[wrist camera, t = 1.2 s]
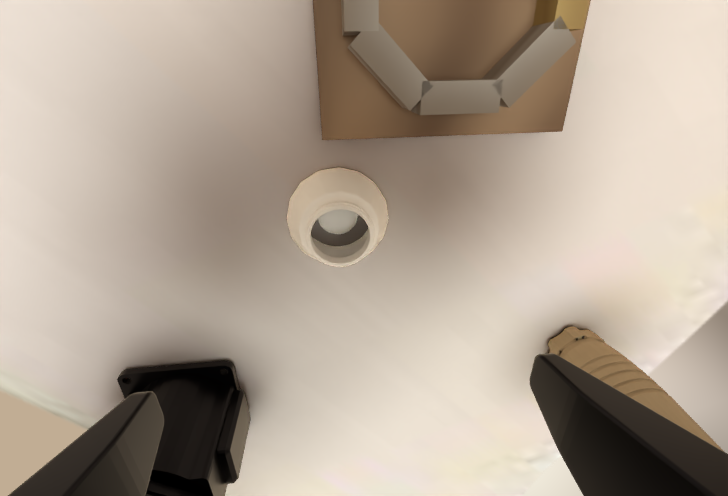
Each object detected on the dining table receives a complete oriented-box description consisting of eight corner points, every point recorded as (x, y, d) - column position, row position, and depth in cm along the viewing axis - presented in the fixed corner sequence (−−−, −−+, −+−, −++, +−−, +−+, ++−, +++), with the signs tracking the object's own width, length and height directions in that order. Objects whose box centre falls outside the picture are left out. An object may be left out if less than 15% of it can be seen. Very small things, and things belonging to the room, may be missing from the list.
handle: (519, 327, 23) (797, 682, 10) (616, 301, 23) (1032, 621, 10) (522, 379, 25) (752, 727, 12) (611, 356, 25) (944, 679, 12)
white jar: (404, 201, 19) (324, 145, 17) (418, 223, 16) (324, 158, 14) (349, 272, 20) (270, 226, 18) (353, 301, 17) (261, 252, 16)
